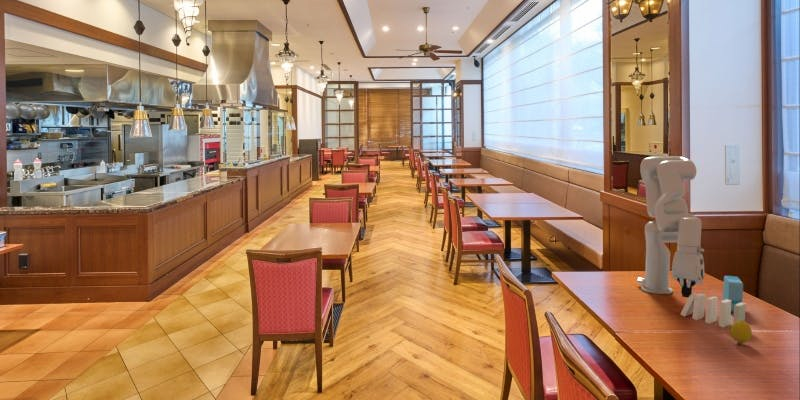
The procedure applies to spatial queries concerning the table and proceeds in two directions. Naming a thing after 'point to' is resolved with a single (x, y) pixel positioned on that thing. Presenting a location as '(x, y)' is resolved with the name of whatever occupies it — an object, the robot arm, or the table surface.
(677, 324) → the table surface
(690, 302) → the tile
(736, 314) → the tile
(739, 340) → the lemon
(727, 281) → the data package
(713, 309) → the tile
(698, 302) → the tile
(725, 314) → the tile
